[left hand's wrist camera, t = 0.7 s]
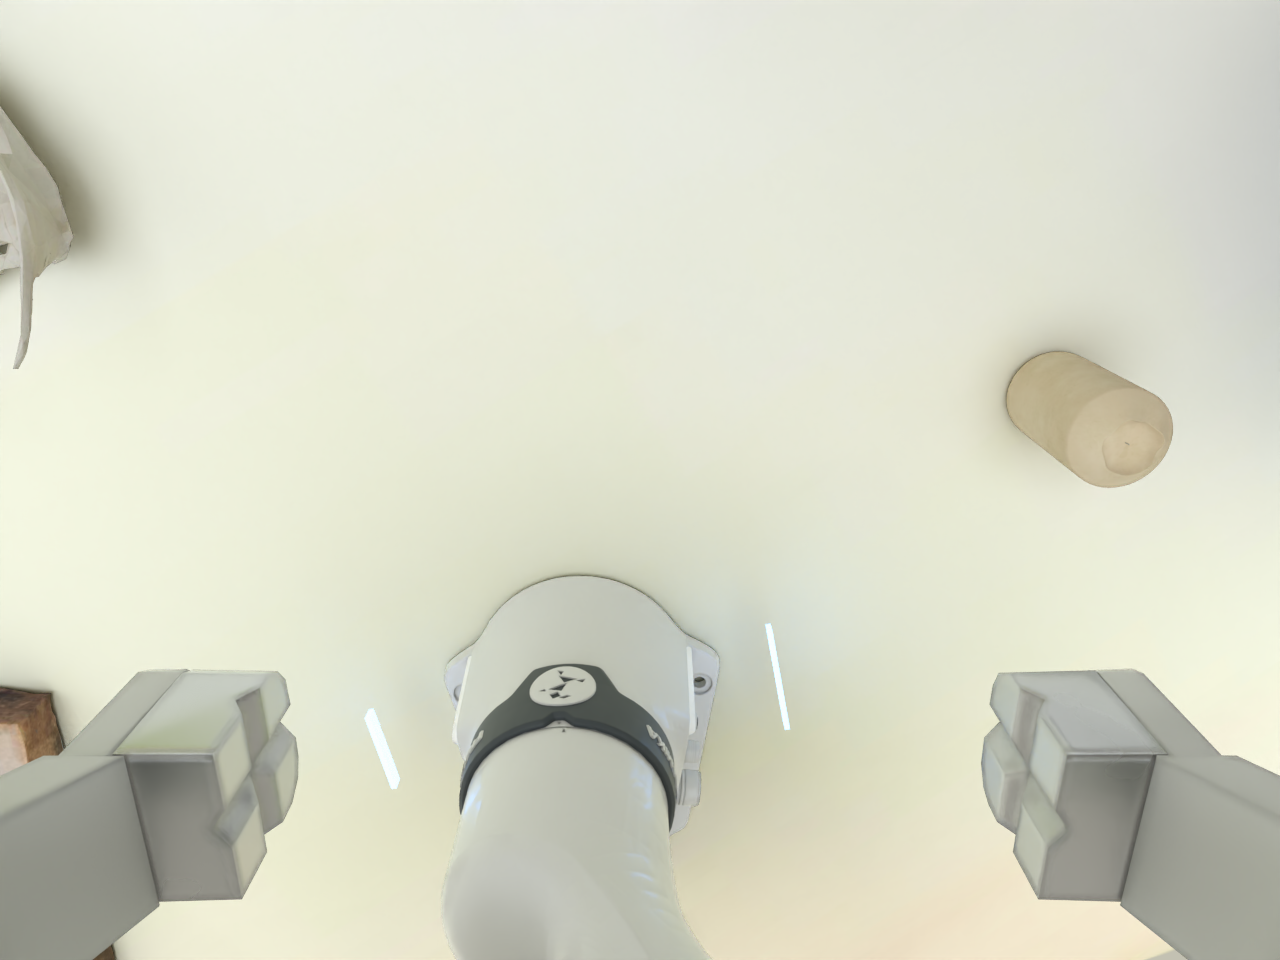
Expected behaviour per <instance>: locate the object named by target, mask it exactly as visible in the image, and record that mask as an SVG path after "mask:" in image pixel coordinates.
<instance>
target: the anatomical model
mask: <svg viewBox="0 0 1280 960" xmlns="http://www.w3.org/2000/svg"><path fill="white" fill-rule="evenodd" d="M73 238H74V236H73V233H72V230H71V228H70V225H69V222H68V219H67V216H66V213H65V210H64V207H63V204H62V201H61V198H60V194H59V190H58V186H57V184H56V183H55V181H54V180H53V178H52V176H51V175H50V173H49V172H48V170H47V168H46V167H45V166H44V164H43V163H42V162H41V161H40V160H39V158H38V157H37V156H36V155H35V153H34V152H33V151H32V149H31V148H30V146H29V145H28V144H27V142H26V141H25V139H24V138H23V137H22V135H21V134H20V132H19V131H18V130H17V128H16V127H15V126H14V124H13V123H12V122H11V120H10V119H9V117H8V116H7V115H6V113H5V112H4V111H3V109H2V108H1V107H0V246H1V245H4V244H7V243H8V246H7V250H6V254H2V253H1V252H0V274H4V269H10V268H17V267H20V291H21V336H20V340H19V345H18V349H17V354H16V358H15V363H14V367H13V369H18V368H19V366H20V365H21V363H22V361H23V359H24V357H25V355H26V352H27V347H28V342H29V337H30V331H31V315H32V300H33V299H32V292H33V282H34V279H35V277H39V276H40V274H41V273H42V272H43V270H44V269H45V268H46V267H47V266H48V265H49V264H51V263H53V264H56V263H58V262H60V261H62V260H65V259H66V257H67V255H68V252H69V249H70V246H71V244H70V243H71V241H72V240H73Z"/></svg>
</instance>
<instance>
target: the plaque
mask: <svg viewBox="0 0 1280 960" xmlns="http://www.w3.org/2000/svg"><path fill="white" fill-rule="evenodd" d="M63 750H64V748H63V744H62V740H61V736H60V733H59V730H58V727H57V723H56V717H55V715H54V713H53V712H52V708H51V693H45V694H33V693H27V692H22V691H16V690H11V689H5V688H0V776H1V775H3V774H5V773H7V772H10V771H12V770H14V769H16V768H18V767H20V766H22V765H25V764H27V763H29V762H31V761H33V760H35V759H37V758H40V757H42V756H58V755H59V754H60V753H61V752H62V751H63ZM93 960H114V953H113V950H112V947H111V945H110V946H109V947H108V948H106V949H105V950H104V951H103V952H101V953H100V954H99V955H98V956H96V957H95V958H94V959H93Z"/></svg>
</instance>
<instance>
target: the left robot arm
mask: <svg viewBox="0 0 1280 960" xmlns="http://www.w3.org/2000/svg"><path fill="white" fill-rule="evenodd" d="M766 630H767V635H768V641H769V646H770V652H771V657H772V663H773V669H774V674H775V680H776V685H777V691H778V696H779V702H780V707H781V713H782V718H783V723H784V727H785V730H787V729H790V727H789V722H788V716H787V710H786V705H785V699H784V694H783V688H782V682H781V677H780V671H779V666H778V660H777V654H776V649H775V643H774V638H773V632H772V628H771V624H766ZM719 664H720V661H719V656H718V655H717V653H716V652H715V651H714V650H713V649H712V648H710V647H709V646H707V645H706V644H704V643H702V642H700V641H698V640H696V639H694V638H692V637H690V636H688V635H686V634H685V633H684V632H683V631H681V630H680V629H679V628H678V627H677V625H676V624H675V623H674V622H673V621H672V619H671V618H670V617H669V616H668V615H667V613H666V612H665V611H664V610H663V609H662V608H661V607H660V606H659V605H658V604H657V603H656V602H654V601H653V600H652V599H650V598H649V597H648V596H646V595H645V594H643V593H642V592H640V591H638V590H636V589H634V588H632V587H630V586H628V585H625V584H623V583H620V582H617V581H614V580H610V579H606V578H601V577H594V576H566V577H559V578H554V579H550V580H546V581H543V582H540V583H537V584H535V585H532V586H530V587H528V588H526V589H524V590H522V591H521V592H519V593H518V594H516V595H515V596H513V597H512V598H510V599H509V600H508V601H507V602H506V603H505V604H503V605H502V606H501V607H500V608H499V610H498V611H497V612H496V613H495V614H494V616H493V617H492V618H491V620H490V621H489V623H488V625H487V626H486V628H485V630H484V631H483V633H482V635H481V636H480V637H479V639H478V640H477V641H476V642H475V643H474V644H473V645H471V646H470V647H468V648H466V649H465V650H463V651H462V652H460V653H459V654H458V655H456V656H455V657H454V658H453V659H452V660H451V661H450V662H449V663H448V665H447V667H446V671H445V677H444V679H445V684H446V687H447V689H448V692H449V695H450V697H451V700H452V702H453V705H454V707H455V710H456V715H455V720H454V725H453V730H452V740H453V742H454V743H456V744H458V746H459V750H460V753H461V755H462V758H463V760H464V766H463V770H462V775H461V784H460V788H461V790H460V798H459V807H460V814H461V818H460V821H459V825H458V829H457V833H456V837H455V841H454V845H453V849H452V852H451V856H450V860H449V864H448V868H447V872H446V876H445V880H444V884H443V887H442V894H441V916H442V923H443V928H444V932H445V936H446V939H447V941H448V944H449V947H450V949H451V951H452V953H453V955H454V957H455V958H456V960H712V959H711V958H710V956H709V955H708V954H707V953H706V951H705V950H704V949H703V947H702V946H701V944H700V943H699V941H698V940H697V938H696V937H695V935H694V934H693V932H692V931H691V929H690V927H689V925H688V923H687V921H686V920H685V918H684V915H683V913H682V910H681V907H680V904H679V900H678V895H677V889H676V884H675V878H674V872H673V865H672V857H671V847H670V836H671V835H672V834H674V833H676V832H678V831H680V830H681V829H683V828H684V827H685V826H686V824H687V822H688V819H689V815H690V810H691V806H696V805H698V804H699V800H700V793H701V773H700V772H699V767H700V762H701V757H702V752H703V747H704V743H705V738H706V733H707V728H708V723H709V718H710V714H711V709H712V704H713V699H714V694H715V689H716V685H717V680H718V675H719ZM697 677H702V678H704V680H703V681H701V682H697V681H695V680H694V679H695V678H697ZM289 706H290V700H289V695H288V690H287V685H286V680H285V679H284V678H283V676H282V675H281V674H280V673H279V672H278V671H233V670H191V671H190V670H187V669H161V670H146V671H142V672H138V673H137V674H136V675H135V676H134V677H133V678H132V679H131V680H130V681H129V682H128V683H127V684H126V685H125V686H124V687H123V688H122V689H121V691H120V692H119V693H118V694H117V695H116V696H115V697H114V698H113V699H112V700H111V701H110V702H109V703H108V704H107V705H106V706H105V707H104V708H103V709H102V710H101V711H100V712H99V714H98V715H97V716H96V717H95V718H94V719H93V720H92V721H91V722H90V723H89V724H88V725H87V726H86V727H85V728H84V729H83V730H82V731H81V732H80V733H79V734H78V735H77V737H76V738H75V739H74V740H73V741H72V742H71V743H70V744H69V745H68V746H67V747H66V748H65V749H64V750H63V751H62V752H61V753H60V754H59V755H58V756H42V757H40V758H37V759H35V760H33V761H31V762H29V763H27V764H25V765H22V766H20V767H18V768H16V769H14V770H12V771H10V772H7V773H5V774H3V775H1V776H0V960H93V959H94V958H95V957H96V956H98V955H99V954H100V953H101V952H103V951H104V950H105V949H106V948H108V947H109V946H110V945H111V944H113V943H114V942H115V941H116V940H118V939H119V938H120V937H121V936H123V935H124V934H125V933H126V932H128V931H129V930H130V929H131V928H133V927H134V926H135V925H136V924H138V923H139V922H140V921H141V920H142V919H144V918H145V917H146V916H147V915H149V914H150V913H151V912H152V911H154V910H155V909H156V908H157V907H159V902H162V901H197V900H232V899H242V898H243V896H244V894H245V892H246V890H247V889H248V887H249V885H250V883H251V881H252V879H253V877H254V875H255V874H256V872H257V870H258V868H259V866H260V864H261V862H262V860H263V858H264V857H265V855H266V853H267V849H266V843H265V837H264V834H266V833H267V832H269V831H270V830H272V829H273V828H274V827H276V826H277V825H279V824H280V823H282V822H283V820H284V818H285V816H286V814H287V812H288V810H289V808H290V806H291V804H292V801H293V797H294V793H295V788H296V784H297V780H298V750H297V743H296V737H295V736H294V735H293V734H292V733H291V732H290V731H289V730H288V729H287V728H286V727H285V726H284V725H283V724H282V723H281V722H280V721H281V719H282V717H283V716H284V714H285V712H286V711H287V709H288V708H289ZM990 706H991V707H992V709H993V711H994V712H995V714H996V716H997V717H998V719H999V721H1000V722H999V723H998V724H997V725H996V726H995V727H994V728H993V729H992V730H991V731H990V732H989V733H988V734H987V735H986V736H985V737H984V745H983V753H982V761H981V765H982V776H983V787H984V790H985V794H986V797H987V800H988V804H989V806H990V808H991V810H992V812H993V814H994V816H995V818H996V820H997V822H998V823H1000V824H1001V825H1003V826H1004V827H1006V828H1007V829H1008V830H1010V831H1011V832H1013V833H1014V834H1016V837H1015V843H1014V849H1013V853H1014V855H1015V857H1016V858H1017V860H1018V862H1019V864H1020V866H1021V868H1022V870H1023V872H1024V873H1025V875H1026V877H1027V879H1028V881H1029V883H1030V885H1031V886H1032V888H1033V890H1034V892H1035V894H1036V896H1037V898H1038V899H1046V900H1082V901H1118V902H1121V904H1120V905H1121V906H1122V907H1123V908H1124V909H1125V910H1127V911H1128V912H1129V913H1130V914H1132V915H1133V916H1134V917H1135V918H1137V919H1138V920H1139V921H1140V922H1142V923H1143V924H1144V925H1145V926H1147V927H1148V928H1149V929H1150V930H1152V931H1153V932H1154V933H1155V934H1157V935H1158V936H1159V937H1160V938H1161V939H1163V940H1164V941H1165V942H1166V943H1168V944H1169V945H1170V946H1171V947H1173V948H1174V949H1175V950H1176V951H1178V952H1179V953H1180V954H1181V955H1183V956H1184V957H1185V958H1186V959H1188V960H1280V776H1279V775H1277V774H1275V773H1273V772H1270V771H1268V770H1266V769H1264V768H1262V767H1260V766H1258V765H1255V764H1253V763H1251V762H1249V761H1247V760H1245V759H1243V758H1240V757H1238V756H1222V755H1221V754H1220V753H1219V752H1218V751H1217V750H1216V749H1215V748H1214V747H1213V746H1212V745H1211V744H1210V743H1209V742H1208V741H1207V740H1206V739H1205V737H1204V736H1203V735H1202V734H1201V733H1200V732H1199V731H1198V730H1197V729H1196V728H1195V727H1194V726H1193V725H1192V724H1191V723H1190V722H1189V721H1188V720H1187V719H1186V718H1185V717H1184V715H1183V714H1182V713H1181V712H1180V711H1179V710H1178V709H1177V708H1176V707H1175V706H1174V705H1173V704H1172V703H1171V702H1170V701H1169V700H1168V699H1167V698H1166V697H1165V696H1164V695H1163V693H1162V692H1161V691H1160V690H1159V689H1158V688H1157V687H1156V686H1155V685H1154V684H1153V683H1152V682H1151V681H1150V680H1149V679H1148V678H1147V677H1146V676H1145V675H1144V674H1143V673H1141V672H1138V671H1136V670H1134V669H1112V670H1088V671H1056V672H1016V673H999V674H998V676H997V678H996V680H995V682H994V684H993V688H992V694H991V700H990ZM365 720H366V723H367V725H368V728H369V730H370V733H371V736H372V738H373V741H374V744H375V746H376V749H377V751H378V754H379V757H380V759H381V762H382V765H383V767H384V770H385V772H386V775H387V778H388V780H389V783H390V785H391V788H392V789H394V788H396V787H397V785H398V782H399V779H400V778H399V776H398V773H397V770H396V768H395V765H394V762H393V760H392V757H391V754H390V752H389V749H388V746H387V744H386V741H385V738H384V736H383V733H382V730H381V728H380V725H379V722H378V720H377V717H376V714H375V712H374V709H370V710H369V711H368V713H367V715H366V717H365Z"/></svg>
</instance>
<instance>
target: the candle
mask: <svg viewBox="0 0 1280 960" xmlns="http://www.w3.org/2000/svg"><path fill="white" fill-rule="evenodd" d="M1007 409H1008V413H1009V416H1010V417H1011V419H1012V421H1013V423H1014V424H1015V425H1016V426H1017V427H1018V428H1019V429H1020V430H1021V431H1022V432H1023V433H1024V434H1025V435H1027V436H1028V437H1029V438H1030V439H1032V440H1033V441H1034V442H1035V443H1037V444H1038V445H1039V446H1040V447H1042V448H1043V449H1044V450H1045V451H1047V452H1048V453H1049V454H1051V455H1052V456H1053V457H1054V458H1056V459H1057V460H1058V461H1059V462H1061V463H1062V464H1063V465H1064V466H1066V467H1067V468H1068V469H1069V470H1071V471H1072V472H1073V473H1075V474H1076V475H1077V476H1078V477H1080V478H1081V479H1082V480H1084V481H1085V482H1087V483H1089V484H1092V485H1095V486H1099V487H1107V488H1112V487H1120V486H1125V485H1128V484H1131V483H1133V482H1136V481H1138V480H1140V479H1141V478H1143V477H1145V476H1146V475H1148V474H1149V473H1150V472H1151V471H1152V470H1154V469H1155V468H1156V466H1157V465H1158V464H1159V463H1160V462H1161V461H1162V459H1163V458H1164V456H1165V454H1166V453H1167V451H1168V448H1169V446H1170V443H1171V440H1172V434H1173V423H1172V418H1171V414H1170V412H1169V410H1168V408H1167V406H1166V405H1165V403H1164V402H1163V401H1162V400H1161V399H1160V398H1158V397H1157V396H1156V395H1154V394H1152V393H1151V392H1149V391H1147V390H1145V389H1143V388H1141V387H1139V386H1137V385H1135V384H1133V383H1131V382H1129V381H1127V380H1126V379H1124V378H1122V377H1120V376H1118V375H1116V374H1114V373H1112V372H1110V371H1108V370H1106V369H1104V368H1102V367H1100V366H1098V365H1096V364H1094V363H1093V362H1091V361H1089V360H1087V359H1085V358H1083V357H1081V356H1078V355H1076V354H1073V353H1068V352H1060V351H1057V352H1048V353H1045V354H1041V355H1039V356H1037V357H1035V358H1033V359H1031V360H1030V361H1028V362H1027V363H1026V364H1024V365H1023V366H1022V367H1021V368H1020V369H1019V370H1018V372H1017V373H1016V374H1015V376H1014V377H1013V379H1012V381H1011V383H1010V385H1009V388H1008V392H1007Z"/></svg>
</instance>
